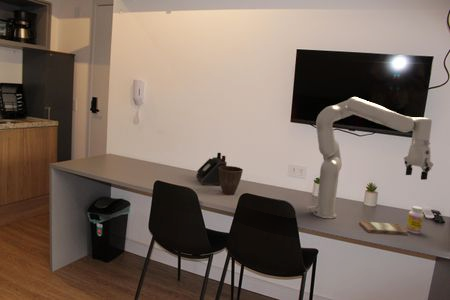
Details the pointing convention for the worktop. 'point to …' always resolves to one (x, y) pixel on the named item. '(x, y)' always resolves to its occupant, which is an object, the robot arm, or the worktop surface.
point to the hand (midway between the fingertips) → (415, 177)
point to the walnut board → (383, 228)
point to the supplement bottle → (415, 220)
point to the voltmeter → (211, 170)
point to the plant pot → (229, 179)
